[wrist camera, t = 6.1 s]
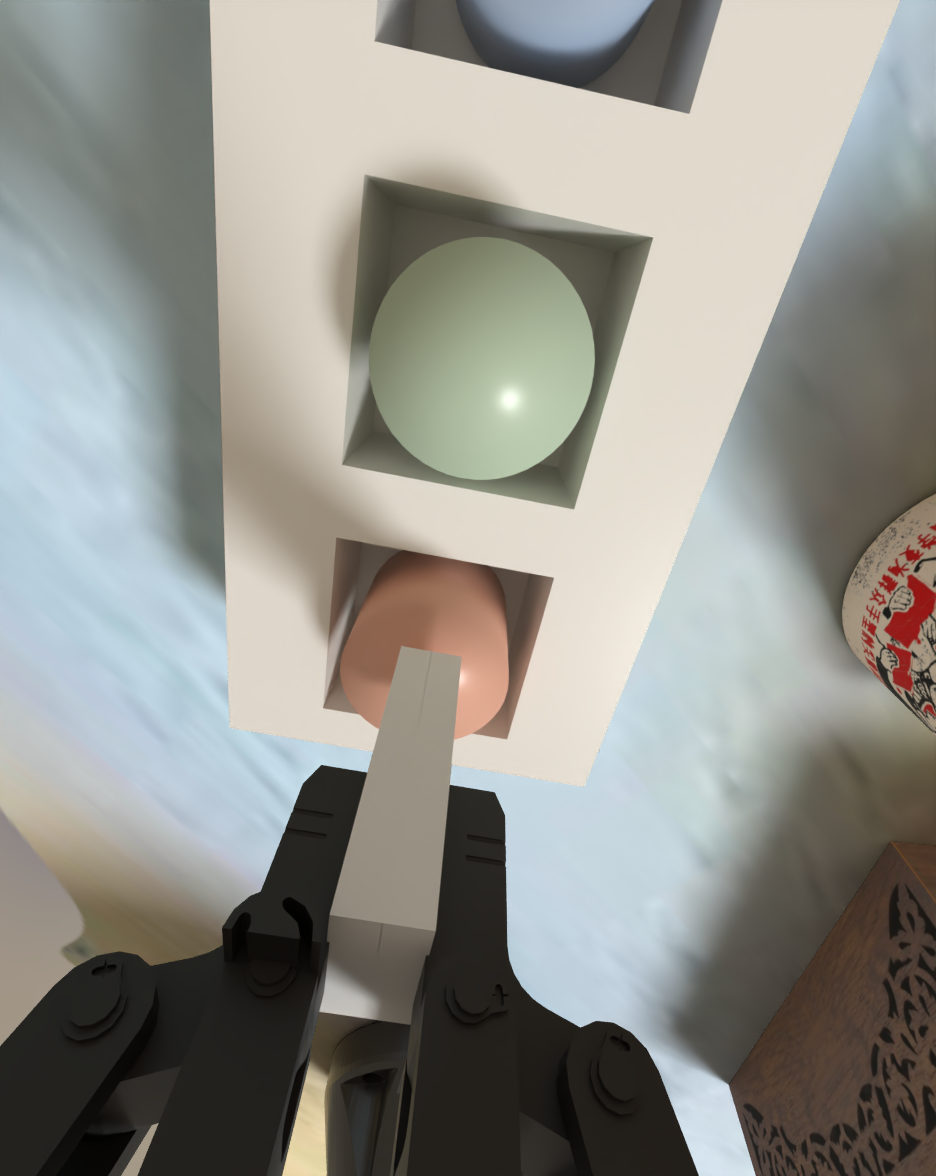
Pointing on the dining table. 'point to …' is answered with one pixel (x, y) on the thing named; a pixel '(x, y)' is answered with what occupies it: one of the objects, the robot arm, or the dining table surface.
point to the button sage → (481, 358)
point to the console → (556, 231)
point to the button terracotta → (430, 634)
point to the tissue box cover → (854, 1040)
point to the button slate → (553, 35)
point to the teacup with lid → (898, 609)
